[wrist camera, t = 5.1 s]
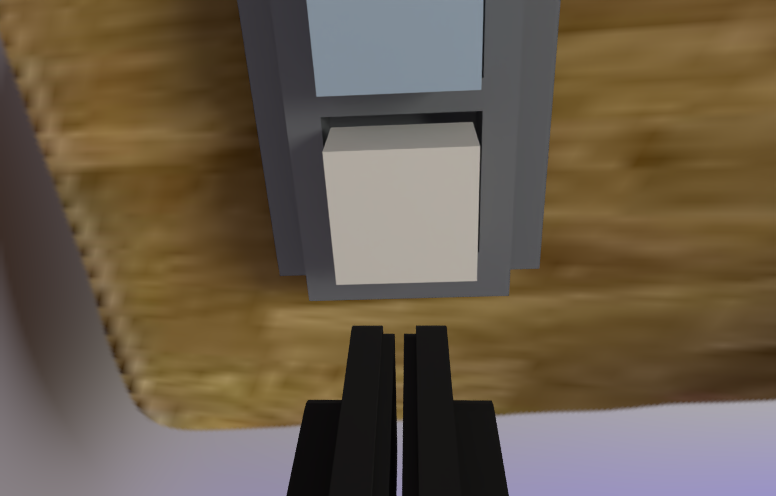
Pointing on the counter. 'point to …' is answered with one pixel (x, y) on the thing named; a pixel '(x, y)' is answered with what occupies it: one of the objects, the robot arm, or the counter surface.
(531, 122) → the keypad housing
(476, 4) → the key
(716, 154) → the counter surface
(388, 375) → the robot arm
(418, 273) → the key
